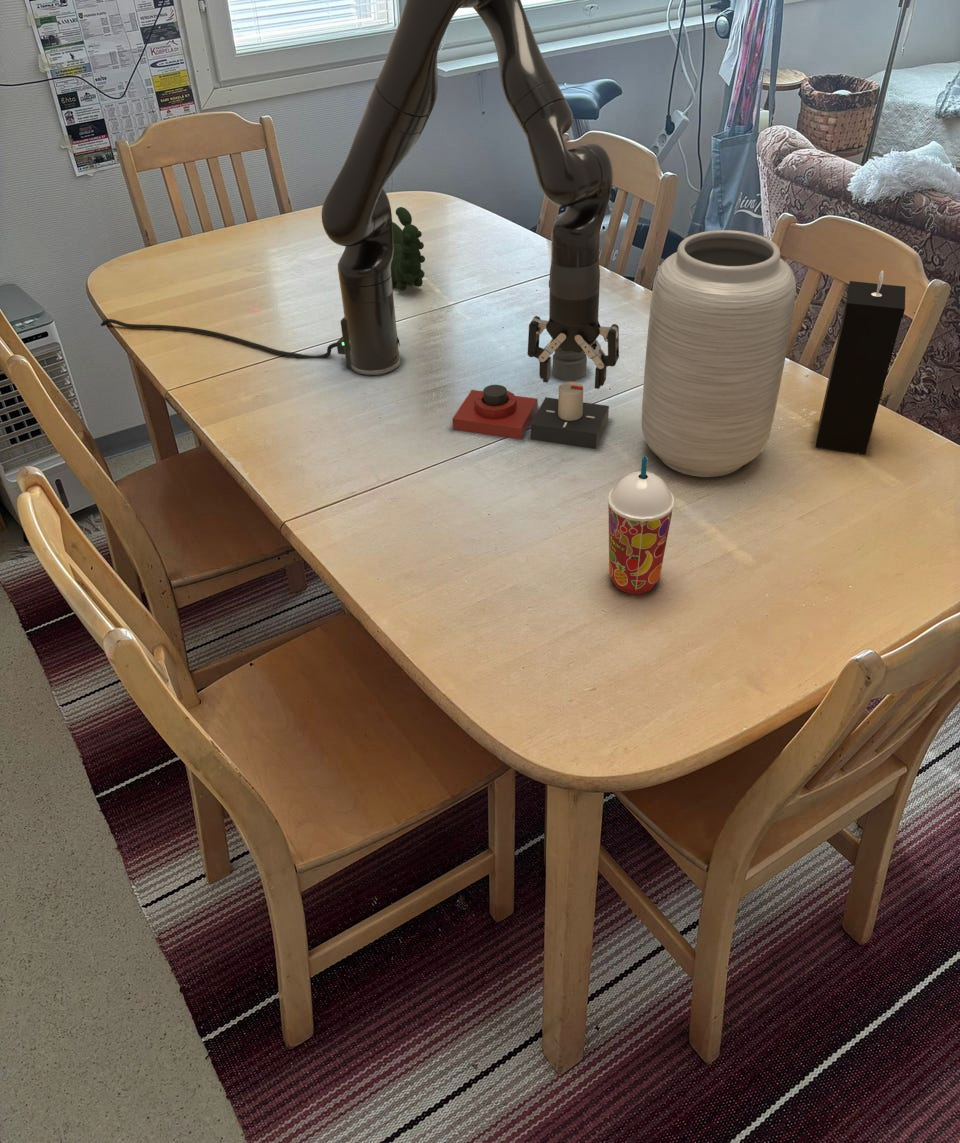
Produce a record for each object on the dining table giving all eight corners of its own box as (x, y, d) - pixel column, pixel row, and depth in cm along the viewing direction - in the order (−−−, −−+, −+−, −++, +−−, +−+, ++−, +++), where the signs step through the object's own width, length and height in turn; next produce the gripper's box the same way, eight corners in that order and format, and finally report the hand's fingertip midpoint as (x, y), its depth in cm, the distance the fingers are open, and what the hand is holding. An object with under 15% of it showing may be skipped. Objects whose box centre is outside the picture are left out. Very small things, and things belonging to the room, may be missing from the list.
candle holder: (584, 382, 173) (589, 246, 157) (550, 380, 174) (552, 244, 158) (588, 365, 178) (593, 231, 162) (554, 363, 179) (557, 230, 163)
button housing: (453, 429, 163) (451, 409, 160) (472, 400, 170) (471, 380, 167) (521, 439, 159) (521, 419, 157) (537, 409, 167) (537, 389, 164)
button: (480, 405, 161) (479, 394, 160) (487, 393, 164) (487, 383, 163) (503, 408, 160) (502, 397, 159) (510, 396, 163) (510, 386, 162)
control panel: (530, 439, 159) (530, 423, 157) (545, 412, 166) (545, 396, 164) (595, 449, 157) (596, 432, 154) (608, 421, 163) (609, 404, 161)
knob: (555, 418, 158) (555, 390, 155) (561, 406, 161) (562, 378, 158) (579, 422, 157) (580, 393, 154) (585, 410, 160) (586, 381, 157)
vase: (688, 503, 144) (716, 290, 123) (613, 440, 158) (626, 239, 137) (793, 465, 151) (837, 256, 129) (712, 408, 165) (739, 211, 143)
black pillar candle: (867, 430, 158) (911, 264, 140) (865, 455, 152) (911, 286, 134) (818, 423, 160) (854, 259, 142) (814, 448, 155) (851, 280, 136)
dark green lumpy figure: (437, 300, 206) (392, 251, 221) (435, 214, 192) (386, 168, 208) (397, 310, 202) (353, 260, 218) (391, 224, 189) (345, 176, 205)
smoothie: (598, 564, 134) (605, 442, 121) (657, 559, 135) (670, 437, 122) (609, 604, 128) (617, 479, 115) (671, 598, 128) (686, 474, 115)
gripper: (626, 281, 146) (620, 377, 156) (535, 273, 150) (536, 367, 160) (615, 302, 141) (610, 400, 151) (521, 293, 144) (523, 389, 155)
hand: (572, 383), depth 156 cm, fingers open, 8 cm apart
